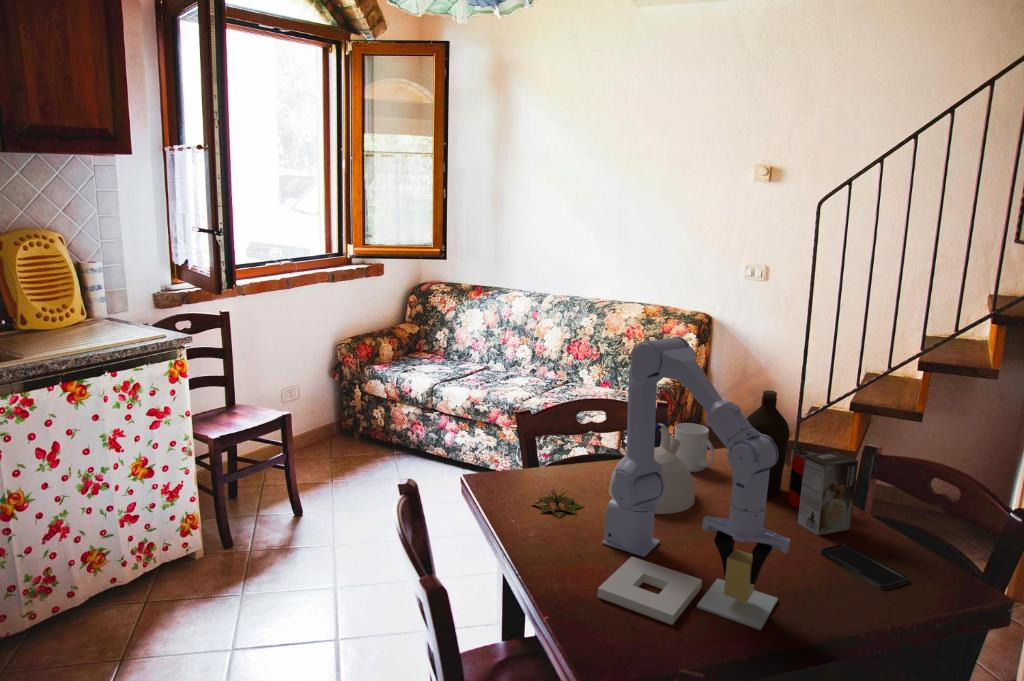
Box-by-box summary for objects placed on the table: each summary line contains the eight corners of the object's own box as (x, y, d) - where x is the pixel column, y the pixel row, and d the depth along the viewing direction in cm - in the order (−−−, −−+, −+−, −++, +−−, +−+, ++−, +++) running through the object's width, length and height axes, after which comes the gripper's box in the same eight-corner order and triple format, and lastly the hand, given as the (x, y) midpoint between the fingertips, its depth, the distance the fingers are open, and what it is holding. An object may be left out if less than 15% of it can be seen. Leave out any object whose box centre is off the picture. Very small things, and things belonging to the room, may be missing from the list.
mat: (696, 607, 125) (696, 605, 125) (717, 580, 134) (717, 578, 134) (760, 630, 119) (760, 627, 119) (777, 600, 128) (778, 598, 128)
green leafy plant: (555, 493, 172) (556, 475, 171) (594, 509, 164) (595, 490, 163) (520, 507, 164) (521, 488, 163) (559, 525, 156) (560, 505, 155)
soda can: (800, 495, 174) (806, 448, 172) (829, 506, 168) (835, 458, 165) (780, 501, 170) (786, 453, 168) (808, 513, 164) (815, 464, 161)
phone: (845, 543, 149) (911, 578, 135) (844, 548, 149) (910, 584, 136) (817, 549, 145) (882, 586, 132) (817, 554, 146) (881, 592, 132)
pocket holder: (597, 597, 127) (598, 587, 127) (631, 564, 139) (631, 556, 138) (672, 625, 120) (673, 615, 119) (701, 588, 131) (702, 579, 131)
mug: (701, 479, 182) (704, 439, 179) (665, 464, 191) (668, 426, 189) (722, 472, 186) (726, 433, 184) (686, 458, 196) (690, 421, 194)
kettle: (710, 496, 172) (717, 424, 168) (667, 523, 157) (673, 445, 153) (638, 472, 185) (642, 405, 182) (591, 496, 170) (595, 423, 166)
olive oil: (785, 501, 170) (796, 400, 165) (738, 495, 173) (748, 395, 167) (779, 483, 180) (790, 388, 175) (735, 479, 183) (745, 384, 178)
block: (723, 594, 125) (727, 558, 124) (730, 584, 129) (734, 549, 127) (746, 602, 123) (750, 565, 122) (753, 592, 126) (757, 555, 125)
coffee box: (828, 517, 162) (836, 450, 159) (850, 530, 156) (860, 460, 153) (796, 523, 159) (804, 455, 155) (817, 536, 153) (826, 465, 150)
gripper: (698, 501, 123) (692, 573, 126) (785, 525, 115) (777, 601, 118) (712, 488, 129) (706, 557, 132) (796, 510, 121) (787, 583, 124)
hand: (740, 577), depth 125 cm, fingers closed on block, 4 cm apart
